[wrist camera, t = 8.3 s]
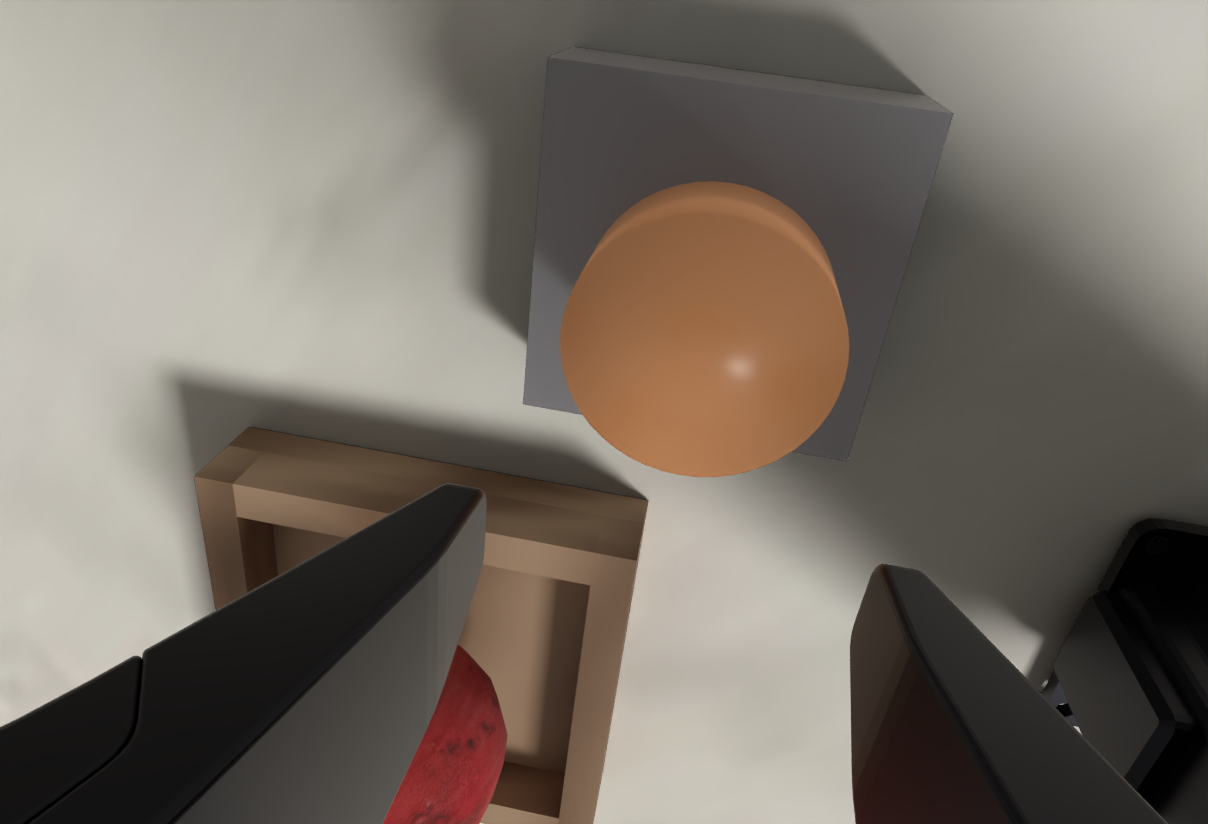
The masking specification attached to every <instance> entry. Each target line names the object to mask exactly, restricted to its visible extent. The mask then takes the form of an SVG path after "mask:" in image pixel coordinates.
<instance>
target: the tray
mask: <svg viewBox="0 0 1208 824" xmlns="http://www.w3.org/2000/svg"><path fill="white" fill-rule="evenodd" d="M194 480H195V486H196V492H197V498H198V504H199V510H200V516H201V523H202V529H203V535H204V541H205V547H206V553H207V559H208V566H209V572H210V578H211V584H212V590H213V596H214V602H215V608H216V610H218V609H220V608H221V607H223V606H225V605H227V604H229V603H230V602H232V601H234V600H236V599H238V598H239V597H241V596H243V595H245V594H247V593H248V592H250V591H252V590H254V589H256V588H257V587H259V586H261V585H263V584H265V583H266V582H268V581H270V580H272V579H274V578H275V577H277V576H279V575H281V574H283V573H284V572H286V571H288V570H290V569H292V568H293V567H295V566H297V565H299V564H301V563H302V562H304V561H306V560H308V559H310V558H311V557H313V556H315V555H317V554H319V553H320V552H322V551H324V550H326V549H327V548H329V547H331V546H333V545H335V544H336V543H338V542H340V541H342V540H344V539H345V538H347V537H349V536H351V535H353V534H354V533H356V532H358V531H360V530H362V529H363V528H365V527H367V526H369V525H371V524H372V523H374V522H376V521H378V520H380V519H381V518H383V517H385V516H387V515H389V514H390V513H392V512H394V511H396V510H398V509H399V508H401V507H403V506H405V505H407V504H408V503H410V502H412V501H414V500H416V499H417V498H419V497H421V496H423V495H425V494H426V493H428V492H430V491H432V490H434V489H435V488H437V487H439V486H441V485H443V484H446V483H452V484H458V485H463V486H468V487H474V488H479V489H482V490H483V491H484V493H485V495H486V499H487V509H486V529H485V549H484V560H483V565H482V570H481V574H480V577H479V581H478V584H477V587H476V590H475V593H474V596H473V599H472V602H471V605H470V608H469V611H468V614H467V617H466V620H465V623H464V626H463V629H462V632H461V635H460V638H459V641H458V645H460V646H461V647H462V648H463V649H464V650H465V651H466V652H468V654H469V655H470V656H471V657H472V658H473V659H474V660H475V661H476V662H477V664H478V665H479V666H480V667H481V668H482V669H483V670H484V671H485V672H486V674H487V675H488V676H489V677H490V678H491V680H492V683H493V686H494V688H495V691H496V694H497V697H498V700H499V704H500V708H501V711H502V715H503V719H504V723H505V726H506V730H507V734H508V737H507V743H506V750H505V757H504V764H503V767H502V770H501V773H500V776H499V779H498V782H497V785H496V788H495V791H494V794H493V797H492V799H491V801H490V803H489V805H488V807H487V809H486V811H485V813H484V815H483V817H482V819H481V821H480V823H485V824H593V822H594V816H595V811H596V805H597V800H598V795H599V789H600V784H601V778H602V773H603V767H604V761H605V755H606V749H607V743H608V737H609V731H610V725H611V720H612V714H613V708H614V702H615V696H616V690H617V684H618V678H619V672H620V666H621V660H622V654H623V648H624V643H625V637H626V631H627V625H628V619H629V613H630V607H631V601H632V595H633V589H634V583H635V577H636V571H637V565H638V560H639V554H640V548H641V542H642V536H643V530H644V524H645V518H646V512H647V506H648V500H643V499H637V498H632V497H627V496H621V495H616V494H610V493H605V492H599V491H594V490H589V489H583V488H578V487H572V486H567V485H561V484H556V483H551V482H545V481H540V480H534V479H529V478H523V477H518V476H513V475H507V474H502V473H496V472H491V471H485V470H480V469H475V468H469V467H464V466H458V465H453V464H447V463H442V462H437V461H431V460H426V459H420V458H415V457H410V456H404V455H399V454H393V453H388V452H382V451H377V450H372V449H366V448H361V447H355V446H350V445H344V444H339V443H334V442H328V441H323V440H317V439H312V438H306V437H301V436H296V435H290V434H285V433H279V432H274V431H268V430H263V429H258V428H252V427H248V428H247V429H246V430H245V431H244V432H243V433H241V434H240V435H239V436H238V437H237V438H236V439H235V440H234V441H233V442H231V443H230V444H229V445H228V446H227V447H226V448H225V449H224V450H223V451H222V452H220V453H219V454H218V455H217V456H216V457H215V458H214V459H213V460H212V461H210V462H209V463H208V464H207V465H206V466H205V467H204V468H203V469H202V470H200V471H199V472H198V473H197V474H196V475H195V476H194Z"/></svg>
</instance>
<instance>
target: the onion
mask: <svg viewBox="0 0 1208 824" xmlns="http://www.w3.org/2000/svg"><path fill="white" fill-rule="evenodd" d="M507 737H508V734H507V730H506V726H505V723H504V719H503V715H502V711H501V708H500V704H499V700H498V697H497V694H496V691H495V688H494V686H493V683H492V680H491V678H490V677H489V676H488V675H487V674H486V672H485V671H484V670H483V669H482V668H481V667H480V666H479V665H478V664H477V662H476V661H475V660H474V659H473V658H472V657H471V656H470V655H469V654H468V652H466V651H465V650H464V649H463V648H462V647H461V646H460V645H457V648H456V651H455V654H454V657H453V660H452V663H451V666H450V669H449V672H448V675H447V678H446V681H445V684H444V687H443V690H442V692H441V695H440V698H439V701H438V704H437V707H436V709H435V711H434V714H433V716H432V718H431V721H430V723H429V725H428V728H427V730H426V732H425V734H424V736H423V738H422V741H421V743H420V745H419V747H418V749H417V751H416V753H415V755H414V758H413V760H412V762H411V764H410V766H409V768H408V770H407V773H406V775H405V777H404V779H403V781H402V783H401V785H400V788H399V790H398V792H397V794H396V796H395V798H394V800H393V803H392V805H391V807H390V809H389V811H388V813H387V815H386V817H385V820H384V822H383V824H479V823H480V821H481V819H482V817H483V815H484V813H485V811H486V809H487V807H488V805H489V803H490V801H491V799H492V797H493V794H494V791H495V788H496V785H497V782H498V779H499V776H500V773H501V770H502V767H503V764H504V757H505V750H506V743H507Z"/></svg>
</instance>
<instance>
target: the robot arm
mask: <svg viewBox="0 0 1208 824" xmlns="http://www.w3.org/2000/svg"><path fill="white" fill-rule="evenodd" d="M486 509H487V499H486V495H485V493H484V491H483V490H482V489H479V488H474V487H468V486H463V485H458V484H452V483H446V484H443V485H441V486H439V487H437V488H435V489H434V490H432V491H430V492H428V493H426V494H425V495H423V496H421V497H419V498H417V499H416V500H414V501H412V502H410V503H408V504H407V505H405V506H403V507H401V508H399V509H398V510H396V511H394V512H392V513H390V514H389V515H387V516H385V517H383V518H381V519H380V520H378V521H376V522H374V523H372V524H371V525H369V526H367V527H365V528H363V529H362V530H360V531H358V532H356V533H354V534H353V535H351V536H349V537H347V538H345V539H344V540H342V541H340V542H338V543H336V544H335V545H333V546H331V547H329V548H327V549H326V550H324V551H322V552H320V553H319V554H317V555H315V556H313V557H311V558H310V559H308V560H306V561H304V562H302V563H301V564H299V565H297V566H295V567H293V568H292V569H290V570H288V571H286V572H284V573H283V574H281V575H279V576H277V577H275V578H274V579H272V580H270V581H268V582H266V583H265V584H263V585H261V586H259V587H257V588H256V589H254V590H252V591H250V592H248V593H247V594H245V595H243V596H241V597H239V598H238V599H236V600H234V601H232V602H230V603H229V604H227V605H225V606H223V607H221V608H220V609H218V610H216V611H214V612H212V613H211V614H209V615H207V616H205V617H203V618H202V619H200V620H198V621H196V622H194V623H193V624H191V625H189V626H187V627H185V628H184V629H182V630H180V631H178V632H177V633H175V634H173V635H171V636H169V637H168V638H166V639H164V640H162V641H160V642H159V643H157V644H155V645H153V646H151V647H150V648H148V649H146V650H145V651H144V652H143V656H142V658H141V657H139V656H133V657H131V658H129V659H127V660H126V661H124V662H122V663H120V664H118V665H117V666H115V667H113V668H111V669H109V670H108V671H106V672H104V673H102V674H100V675H99V676H97V677H95V678H93V679H91V680H90V681H88V682H86V683H84V684H82V685H80V686H78V687H76V688H74V689H73V690H71V691H69V692H67V693H65V694H63V695H61V696H59V697H58V698H56V699H54V700H52V701H50V702H48V703H46V704H44V705H42V706H41V707H39V708H37V709H35V710H33V711H31V712H29V713H27V714H26V715H24V716H22V717H20V718H18V719H16V720H14V721H12V722H10V723H8V724H6V725H4V726H2V727H0V824H383V822H384V820H385V817H386V815H387V813H388V811H389V809H390V807H391V805H392V803H393V800H394V798H395V796H396V794H397V792H398V790H399V788H400V785H401V783H402V781H403V779H404V777H405V775H406V773H407V770H408V768H409V766H410V764H411V762H412V760H413V758H414V755H415V753H416V751H417V749H418V747H419V745H420V743H421V741H422V738H423V736H424V734H425V732H426V730H427V728H428V725H429V723H430V721H431V718H432V716H433V714H434V711H435V709H436V707H437V704H438V701H439V698H440V695H441V692H442V690H443V687H444V684H445V681H446V678H447V675H448V672H449V669H450V666H451V663H452V660H453V657H454V654H455V651H456V648H457V645H458V641H459V638H460V635H461V632H462V629H463V626H464V623H465V620H466V617H467V614H468V611H469V608H470V605H471V602H472V599H473V596H474V593H475V590H476V587H477V584H478V581H479V577H480V574H481V570H482V565H483V560H484V549H485V529H486ZM1156 537H1162V538H1161V539H1160V540H1159V541H1158V542H1156V543H1153V544H1146V543H1147V542H1148V541H1149V540H1151V539H1153V538H1156ZM1053 669H1054V672H1053V673H1052V675H1051V677H1050V679H1049V681H1048V683H1047V685H1046V687H1045V688H1044V690H1043V692H1042V694H1041V693H1040V692H1039V691H1038V690H1037V689H1036V688H1035V687H1034V686H1033V685H1032V684H1031V683H1030V682H1029V681H1028V679H1027V678H1026V677H1025V676H1024V675H1023V674H1022V673H1021V672H1020V671H1019V670H1018V669H1017V668H1016V667H1015V666H1014V665H1013V664H1012V663H1011V662H1010V661H1009V660H1008V659H1007V658H1006V657H1005V656H1004V655H1003V654H1002V653H1001V652H1000V651H999V650H998V649H997V648H996V647H995V646H994V645H993V644H992V643H991V642H990V641H989V640H988V639H987V637H986V636H985V635H984V634H983V633H982V632H981V631H980V630H979V629H978V628H977V627H976V626H975V625H974V624H973V623H972V622H971V621H970V620H969V619H968V618H967V617H966V616H965V615H964V614H963V613H962V612H961V611H960V610H959V609H958V608H957V607H956V606H955V605H954V604H953V603H952V602H951V601H950V600H949V599H948V598H947V597H946V596H945V594H944V593H943V592H942V591H941V590H940V589H939V588H938V587H937V586H936V585H935V584H934V583H933V582H932V581H931V580H930V579H929V578H928V577H927V576H926V575H925V574H923V573H922V572H920V571H918V570H914V569H909V568H903V567H898V566H893V565H887V564H881V565H879V566H877V567H876V568H875V570H874V571H873V573H872V575H871V577H870V580H869V583H868V586H867V589H866V591H865V594H864V597H863V600H862V603H861V606H860V608H859V611H858V614H857V617H856V620H855V623H854V626H853V630H852V635H851V643H850V682H851V749H852V789H853V802H854V812H855V822H856V824H1208V527H1205V526H1199V525H1193V524H1188V523H1182V522H1176V521H1171V520H1165V519H1157V518H1150V519H1146V520H1142V521H1140V522H1138V523H1137V524H1135V525H1133V527H1132V528H1131V529H1130V530H1129V531H1128V533H1127V535H1126V537H1125V539H1124V541H1123V542H1122V544H1121V546H1120V548H1119V550H1118V552H1117V554H1116V556H1115V557H1114V559H1113V561H1112V563H1111V565H1110V567H1109V569H1108V570H1107V572H1106V574H1105V576H1104V578H1103V580H1102V582H1101V584H1100V585H1099V587H1098V589H1097V591H1096V592H1095V593H1093V594H1092V595H1091V596H1090V597H1089V598H1088V600H1087V602H1086V604H1085V606H1084V608H1083V609H1082V611H1081V613H1080V615H1079V617H1078V619H1077V621H1076V623H1075V624H1074V626H1073V628H1072V630H1071V632H1070V634H1069V636H1068V638H1067V640H1066V641H1065V643H1064V645H1063V647H1062V649H1061V651H1060V653H1059V655H1058V656H1057V658H1056V660H1055V662H1054V664H1053ZM1062 703H1066V704H1063V705H1059V704H1062ZM1073 726H1077V727H1079V729H1080V731H1081V733H1082V735H1081V734H1080V733H1079V732H1078V731H1077V730H1076V729H1075V728H1074V727H1073Z"/></svg>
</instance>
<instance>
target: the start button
mask: <svg viewBox="0 0 1208 824" xmlns="http://www.w3.org/2000/svg"><path fill="white" fill-rule="evenodd" d="M560 354H561V362H562V368H563V372H564V376H565V380H566V383H567V385H568V388H569V390H570V393H571V395H572V397H573V399H574V401H575V403H576V405H577V406H578V408H579V410H580V412H581V413H582V414H583V416H584V417H585V418H586V420H587V421H588V422H589V424H590V425H591V426H592V427H593V428H594V429H595V430H596V431H597V432H598V433H599V434H600V435H601V436H602V437H603V438H604V439H605V440H606V441H607V442H609V443H610V444H611V445H612V446H614V447H615V448H616V449H618V450H619V451H621V452H622V453H624V454H625V455H627V456H629V457H630V458H632V459H634V460H636V461H638V462H641V463H643V464H645V465H647V466H650V467H653V468H656V469H658V470H661V471H665V472H669V473H674V474H678V475H685V476H693V477H718V476H728V475H734V474H739V473H744V472H748V471H751V470H754V469H757V468H760V467H763V466H765V465H768V464H770V463H772V462H774V461H776V460H778V459H780V458H782V457H783V456H785V455H787V454H788V453H790V452H791V451H793V450H795V449H796V448H797V447H798V446H800V445H801V444H802V443H803V442H804V441H806V440H807V439H808V438H809V437H810V436H811V435H812V434H813V433H814V432H815V431H816V430H817V429H818V428H819V427H820V425H821V424H822V423H823V421H824V420H825V419H826V417H827V416H828V414H829V413H830V412H831V410H832V408H833V406H834V404H835V402H836V400H837V399H838V397H839V394H840V391H841V389H842V386H843V383H844V381H845V376H846V371H847V367H848V359H849V335H848V326H847V322H846V318H845V313H844V309H843V306H842V302H841V298H840V295H839V291H838V287H837V284H836V280H835V277H834V273H833V269H832V266H831V263H830V261H829V258H828V256H827V253H826V251H825V249H824V247H823V246H822V244H821V242H820V241H819V239H818V237H817V236H816V234H815V233H814V232H813V231H812V229H811V228H810V227H809V225H808V224H807V223H806V222H805V221H804V220H803V219H802V218H801V217H800V216H799V215H798V214H797V213H796V212H794V211H793V210H792V209H790V208H789V207H788V206H786V205H785V204H784V203H782V202H781V201H779V200H777V199H775V198H773V197H772V196H770V195H768V194H766V193H764V192H761V191H758V190H756V189H753V188H750V187H747V186H743V185H738V184H734V183H727V182H715V181H707V182H692V183H687V184H681V185H676V186H673V187H670V188H667V189H664V190H661V191H659V192H656V193H654V194H652V195H650V196H648V197H646V198H644V199H643V200H641V201H639V202H638V203H636V204H635V205H633V206H632V207H630V208H629V209H628V210H627V211H626V212H625V213H623V214H622V215H621V216H620V217H619V218H618V219H617V220H616V221H615V222H614V223H613V224H612V225H611V227H610V228H609V229H608V230H607V231H606V233H605V234H604V236H603V237H602V239H601V240H600V242H599V243H598V245H597V246H596V248H595V250H594V252H593V254H592V255H591V257H590V259H589V261H588V262H587V264H586V266H585V268H584V270H583V271H582V273H581V275H580V277H579V278H578V280H577V282H576V284H575V286H574V288H573V290H572V292H571V294H570V296H569V298H568V301H567V305H566V308H565V311H564V314H563V319H562V325H561V331H560Z"/></svg>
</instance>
